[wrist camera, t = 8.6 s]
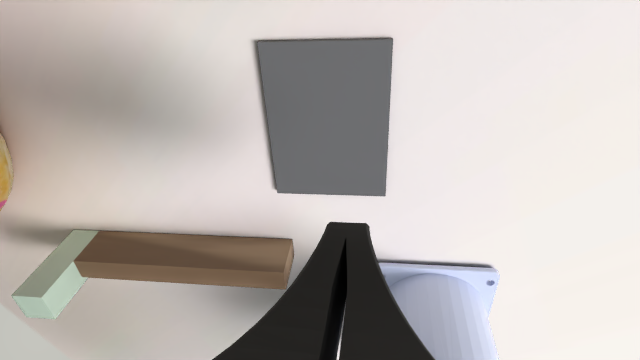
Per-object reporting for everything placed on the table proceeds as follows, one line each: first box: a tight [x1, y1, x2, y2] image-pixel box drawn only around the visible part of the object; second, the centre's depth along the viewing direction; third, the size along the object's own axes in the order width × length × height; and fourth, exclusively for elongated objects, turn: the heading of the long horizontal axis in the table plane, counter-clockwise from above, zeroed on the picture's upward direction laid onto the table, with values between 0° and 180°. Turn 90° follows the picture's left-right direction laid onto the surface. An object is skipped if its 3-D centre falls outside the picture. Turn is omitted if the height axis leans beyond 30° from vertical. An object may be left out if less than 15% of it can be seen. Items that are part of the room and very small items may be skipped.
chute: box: [11, 230, 294, 319], centre depth 21 cm, size 21×16×6 cm
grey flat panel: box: [257, 38, 393, 196], centre depth 22 cm, size 9×6×1 cm
